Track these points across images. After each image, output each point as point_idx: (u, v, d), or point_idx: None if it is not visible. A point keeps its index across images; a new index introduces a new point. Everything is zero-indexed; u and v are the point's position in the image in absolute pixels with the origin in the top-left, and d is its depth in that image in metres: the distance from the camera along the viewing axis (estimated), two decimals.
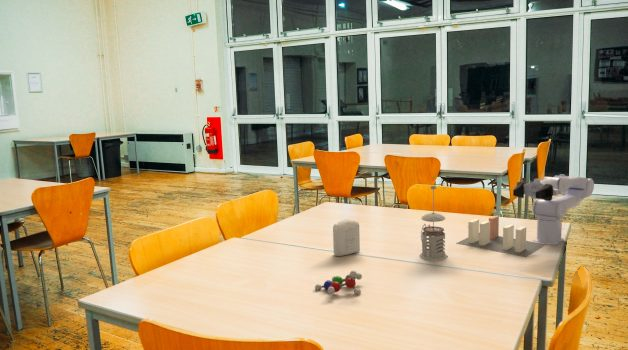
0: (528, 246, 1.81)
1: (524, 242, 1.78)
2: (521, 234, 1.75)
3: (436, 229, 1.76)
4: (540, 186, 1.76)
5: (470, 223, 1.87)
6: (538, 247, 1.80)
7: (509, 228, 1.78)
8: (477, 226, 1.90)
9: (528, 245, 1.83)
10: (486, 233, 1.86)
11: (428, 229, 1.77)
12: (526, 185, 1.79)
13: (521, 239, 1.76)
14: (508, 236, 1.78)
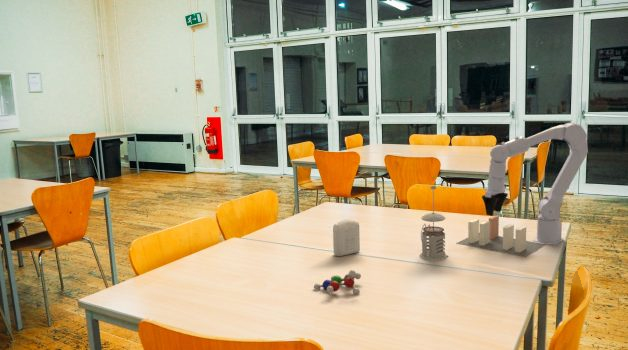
0: (528, 246, 1.81)
1: (524, 242, 1.78)
2: (521, 234, 1.75)
3: (436, 229, 1.76)
4: None
5: (470, 223, 1.87)
6: (538, 247, 1.80)
7: (509, 228, 1.78)
8: (477, 226, 1.90)
9: (528, 245, 1.83)
10: (486, 233, 1.86)
11: (428, 229, 1.77)
12: None
13: (521, 239, 1.76)
14: (508, 236, 1.78)
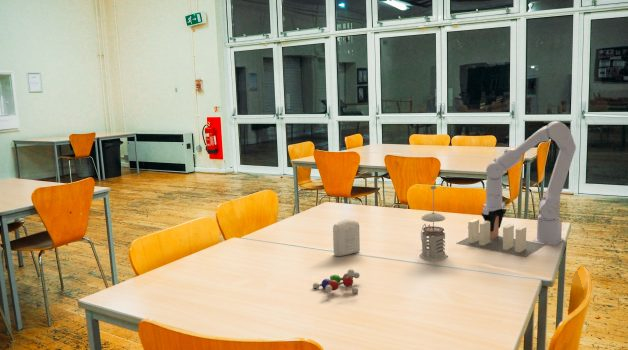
0: (528, 246, 1.81)
1: (524, 242, 1.78)
2: (521, 234, 1.75)
3: (436, 229, 1.76)
4: None
5: (470, 223, 1.87)
6: (538, 247, 1.80)
7: (509, 228, 1.78)
8: (477, 226, 1.90)
9: (528, 245, 1.83)
10: (486, 233, 1.86)
11: (428, 229, 1.77)
12: None
13: (521, 239, 1.76)
14: (508, 236, 1.78)
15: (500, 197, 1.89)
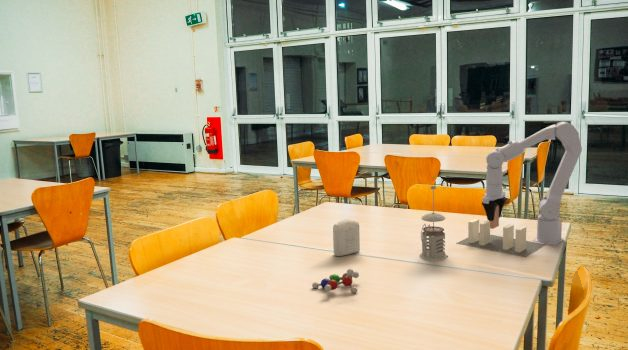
0: (528, 246, 1.81)
1: (524, 242, 1.78)
2: (521, 234, 1.75)
3: (436, 229, 1.76)
4: None
5: (470, 223, 1.87)
6: (538, 247, 1.80)
7: (509, 228, 1.78)
8: (477, 226, 1.90)
9: (528, 245, 1.83)
10: (486, 233, 1.86)
11: (428, 229, 1.77)
12: None
13: (521, 239, 1.76)
14: (508, 236, 1.78)
15: (500, 186, 1.88)
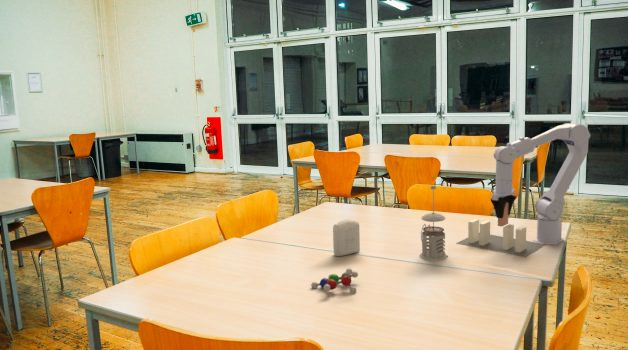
0: (528, 246, 1.81)
1: (524, 242, 1.78)
2: (521, 234, 1.75)
3: (436, 229, 1.76)
4: None
5: (470, 223, 1.87)
6: (538, 247, 1.80)
7: (509, 228, 1.78)
8: (477, 226, 1.90)
9: (528, 245, 1.83)
10: (486, 233, 1.86)
11: (428, 229, 1.77)
12: None
13: (521, 239, 1.76)
14: (508, 236, 1.78)
15: (510, 182, 1.82)
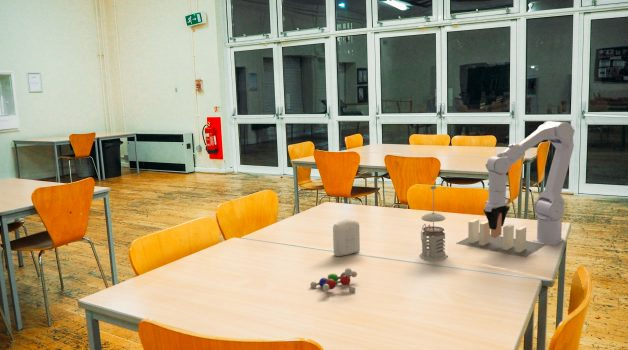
0: (528, 246, 1.81)
1: (524, 242, 1.78)
2: (521, 234, 1.75)
3: (436, 229, 1.76)
4: None
5: (470, 223, 1.87)
6: (538, 247, 1.80)
7: (509, 228, 1.78)
8: (477, 226, 1.90)
9: (528, 245, 1.83)
10: (486, 233, 1.86)
11: (428, 229, 1.77)
12: None
13: (521, 239, 1.76)
14: (508, 236, 1.78)
15: (503, 193, 1.78)
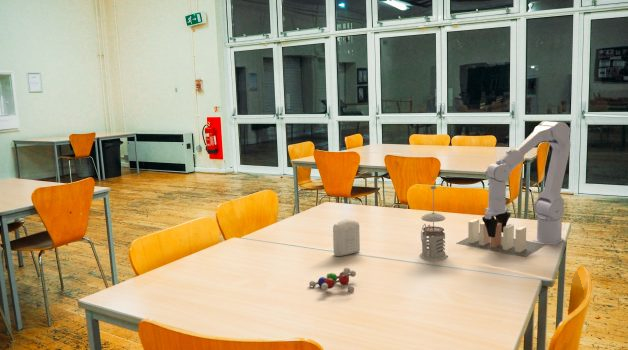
0: (528, 246, 1.81)
1: (524, 242, 1.78)
2: (521, 234, 1.75)
3: (436, 229, 1.76)
4: None
5: (470, 223, 1.87)
6: (538, 247, 1.80)
7: (509, 228, 1.78)
8: (477, 226, 1.90)
9: (528, 245, 1.83)
10: (486, 233, 1.86)
11: (428, 229, 1.77)
12: None
13: (521, 239, 1.76)
14: (508, 236, 1.78)
15: (503, 200, 1.79)
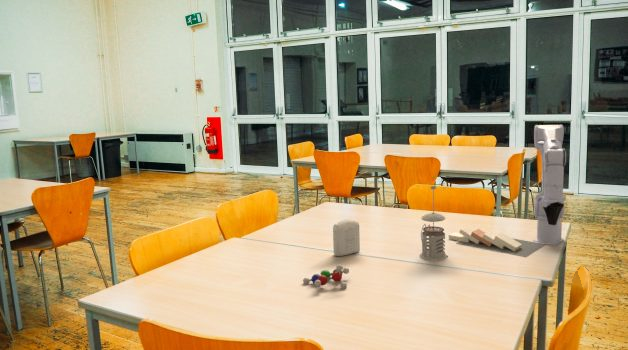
0: (528, 246, 1.81)
1: (514, 241, 1.80)
2: (500, 237, 1.80)
3: (436, 229, 1.76)
4: None
5: (449, 237, 1.94)
6: (538, 247, 1.80)
7: (486, 233, 1.85)
8: None
9: (528, 245, 1.83)
10: None
11: (428, 229, 1.77)
12: None
13: (506, 240, 1.79)
14: (493, 238, 1.83)
15: (561, 188, 1.68)
